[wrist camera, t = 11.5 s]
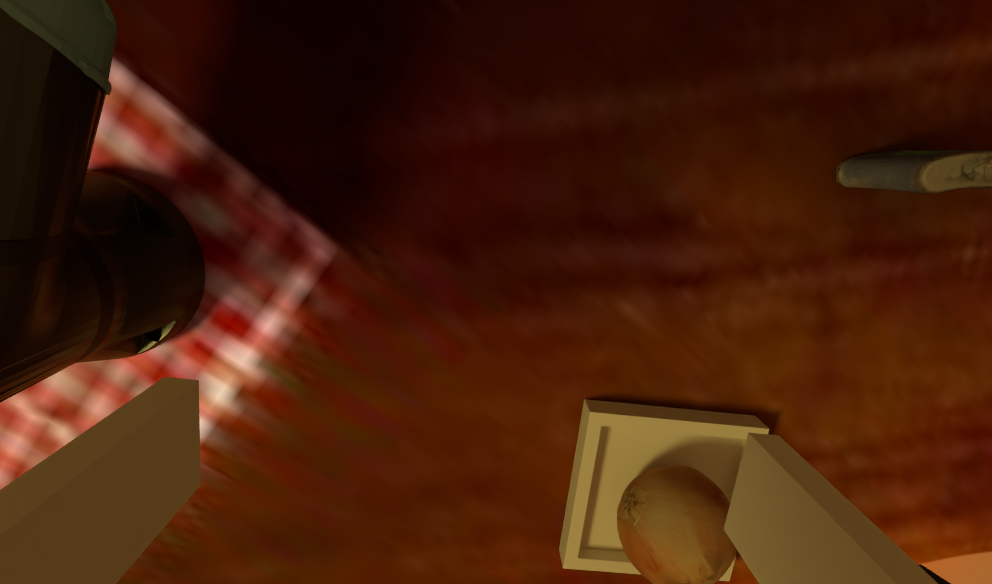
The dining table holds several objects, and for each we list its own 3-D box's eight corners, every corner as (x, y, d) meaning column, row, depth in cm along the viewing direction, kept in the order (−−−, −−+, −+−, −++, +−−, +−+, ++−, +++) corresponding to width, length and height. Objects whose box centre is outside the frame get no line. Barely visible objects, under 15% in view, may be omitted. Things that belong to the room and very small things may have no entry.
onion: (627, 430, 48) (664, 499, 38) (726, 460, 49) (787, 534, 39) (588, 519, 50) (614, 606, 40) (685, 546, 51) (732, 636, 41)
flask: (831, 188, 44) (940, 196, 34) (836, 151, 43) (949, 148, 33) (940, 185, 44) (1082, 192, 34) (947, 149, 44) (1093, 145, 33)
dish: (559, 549, 52) (563, 568, 49) (584, 399, 48) (589, 411, 46) (717, 561, 53) (729, 581, 50) (755, 415, 49) (769, 429, 47)
